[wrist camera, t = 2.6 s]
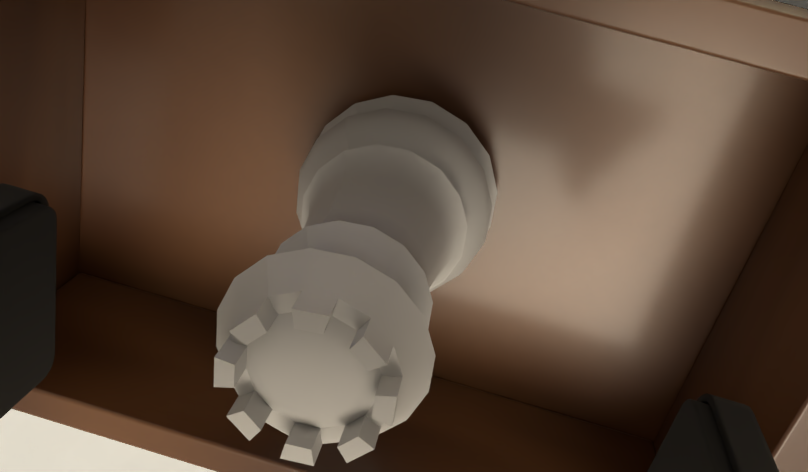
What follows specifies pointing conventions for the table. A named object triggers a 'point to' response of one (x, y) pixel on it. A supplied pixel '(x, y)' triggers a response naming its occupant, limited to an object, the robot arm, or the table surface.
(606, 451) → the crate
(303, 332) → the rook chess piece
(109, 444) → the table surface
